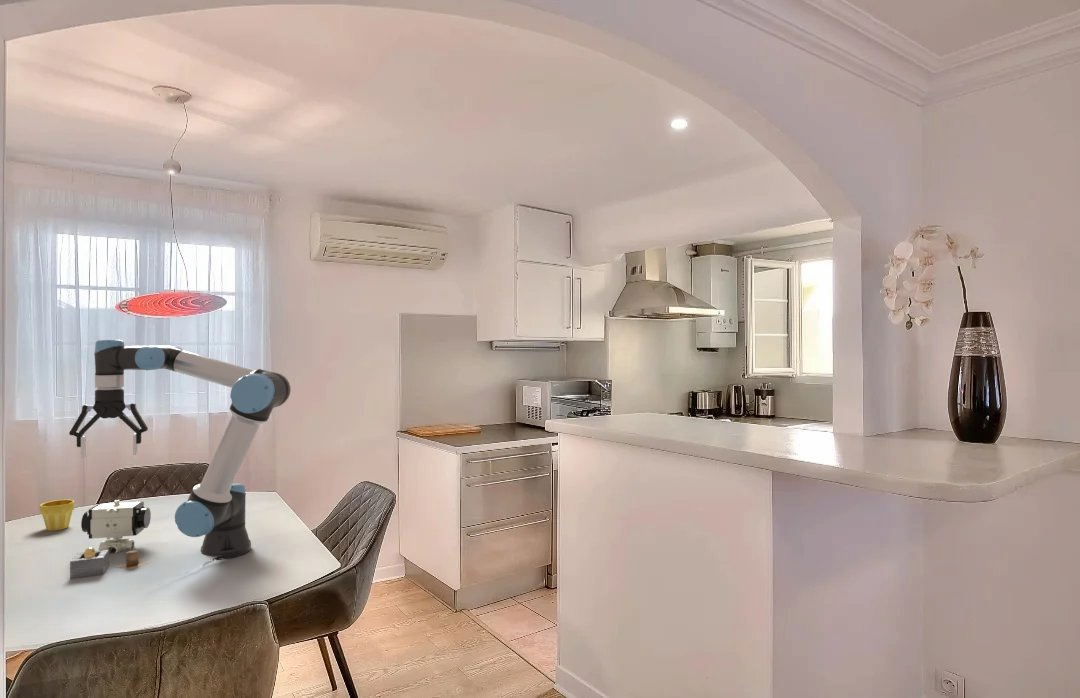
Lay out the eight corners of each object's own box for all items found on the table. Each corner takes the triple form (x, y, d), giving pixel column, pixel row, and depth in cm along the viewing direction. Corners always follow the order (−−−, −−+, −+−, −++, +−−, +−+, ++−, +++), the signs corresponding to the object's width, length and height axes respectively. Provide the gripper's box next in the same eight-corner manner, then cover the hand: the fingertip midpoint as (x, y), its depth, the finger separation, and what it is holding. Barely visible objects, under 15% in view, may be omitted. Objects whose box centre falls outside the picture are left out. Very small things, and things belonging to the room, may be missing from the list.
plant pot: (40, 534, 225) (40, 507, 225) (39, 527, 233) (39, 502, 233) (75, 528, 232) (75, 503, 232) (73, 522, 240) (73, 497, 240)
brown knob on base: (148, 567, 192) (148, 549, 192) (131, 574, 186) (131, 556, 186) (133, 565, 193) (133, 548, 193) (115, 572, 187) (115, 554, 187)
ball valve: (78, 560, 197) (78, 505, 197) (90, 552, 206) (90, 499, 205) (142, 555, 202) (142, 502, 202) (151, 547, 210) (151, 496, 210)
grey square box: (108, 565, 189) (108, 549, 189) (103, 574, 182) (103, 557, 182) (77, 569, 186) (77, 553, 186) (70, 578, 178) (70, 561, 178)
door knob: (108, 574, 186) (108, 545, 186) (87, 581, 180) (87, 552, 180) (91, 572, 188) (91, 543, 188) (71, 579, 181) (70, 550, 181)
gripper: (157, 386, 202) (157, 451, 202) (63, 388, 191) (64, 456, 191) (154, 388, 195) (154, 454, 195) (57, 390, 184) (57, 460, 184)
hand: (109, 455), depth 193 cm, fingers open, 13 cm apart
